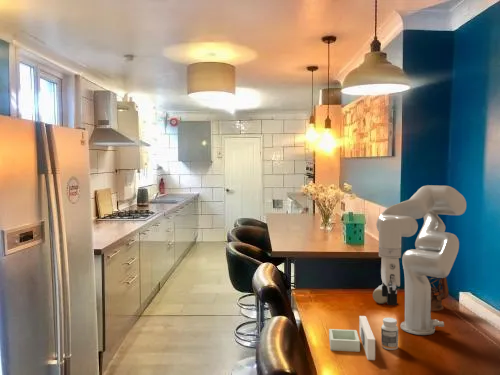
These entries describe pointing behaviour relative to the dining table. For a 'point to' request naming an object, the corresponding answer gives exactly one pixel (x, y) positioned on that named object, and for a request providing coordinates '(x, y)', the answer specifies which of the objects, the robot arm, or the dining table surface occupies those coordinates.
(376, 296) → the ceramic mug
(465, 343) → the dining table surface
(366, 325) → the board
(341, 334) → the pale green square tray
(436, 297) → the lantern
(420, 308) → the robot arm
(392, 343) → the pill bottle
